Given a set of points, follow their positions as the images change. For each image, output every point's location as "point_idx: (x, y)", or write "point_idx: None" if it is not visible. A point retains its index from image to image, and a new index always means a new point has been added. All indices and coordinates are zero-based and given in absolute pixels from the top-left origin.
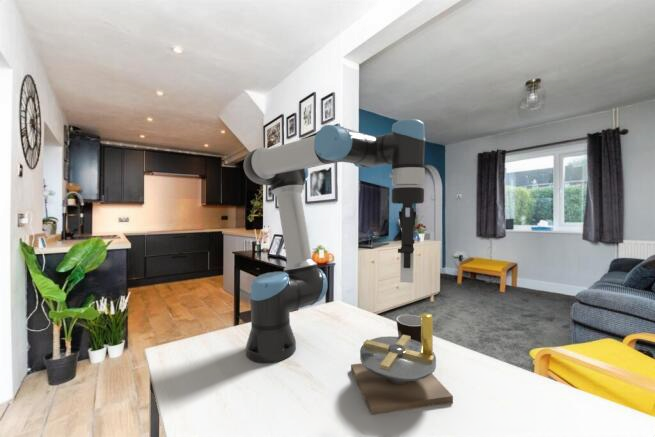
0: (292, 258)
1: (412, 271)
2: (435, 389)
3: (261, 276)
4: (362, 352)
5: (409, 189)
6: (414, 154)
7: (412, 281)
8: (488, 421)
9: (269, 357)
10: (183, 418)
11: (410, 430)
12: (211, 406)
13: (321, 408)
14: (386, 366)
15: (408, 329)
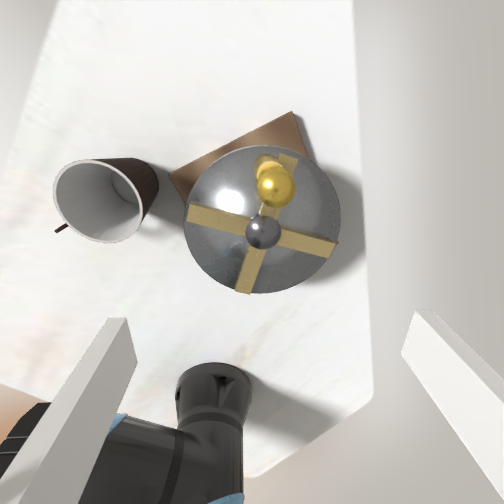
0: None
1: (473, 355)
2: (278, 143)
3: None
4: (274, 288)
5: None
6: None
7: (434, 316)
8: (331, 50)
9: (248, 384)
10: (357, 399)
11: (360, 187)
12: (339, 389)
13: (330, 297)
14: (333, 247)
15: (145, 208)
